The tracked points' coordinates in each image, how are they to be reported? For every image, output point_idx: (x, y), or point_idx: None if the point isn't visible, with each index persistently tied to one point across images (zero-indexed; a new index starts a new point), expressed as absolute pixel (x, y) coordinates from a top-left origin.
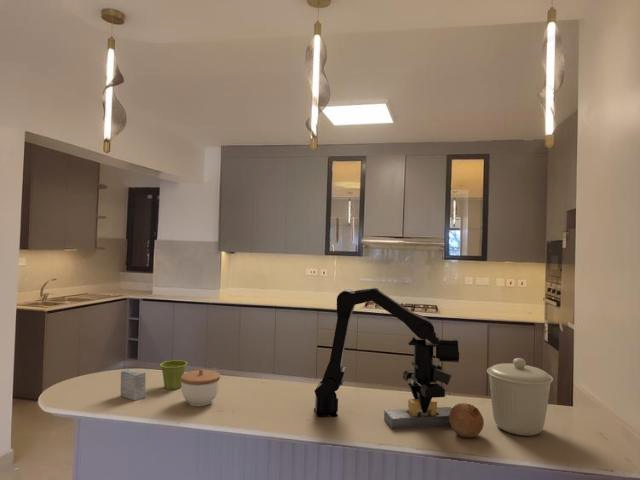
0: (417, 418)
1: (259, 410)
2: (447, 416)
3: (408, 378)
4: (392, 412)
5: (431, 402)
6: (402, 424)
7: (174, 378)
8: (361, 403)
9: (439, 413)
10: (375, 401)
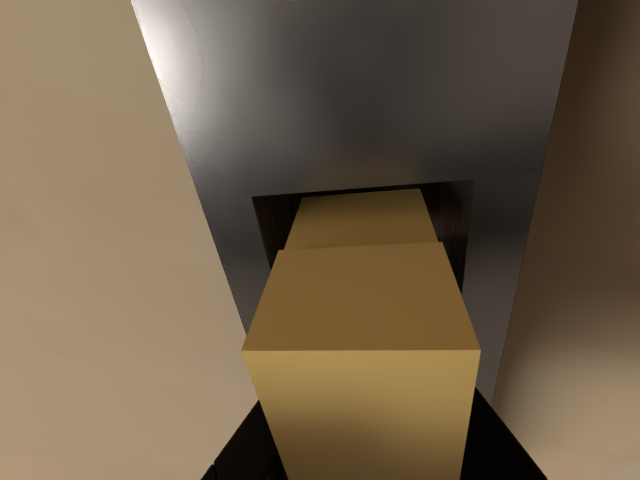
0: (489, 402)
1: None
2: (558, 59)
3: None
4: None
5: (464, 422)
6: None
7: None
8: (102, 458)
9: (419, 163)
10: (39, 408)
